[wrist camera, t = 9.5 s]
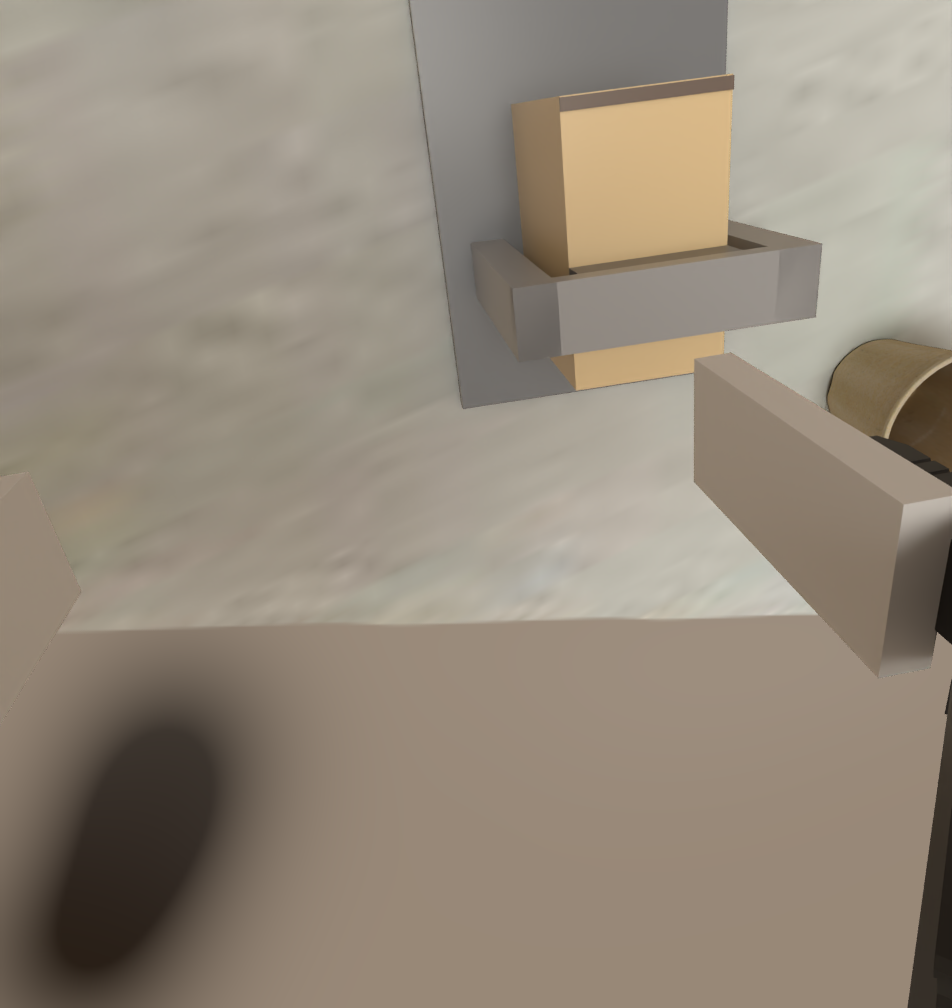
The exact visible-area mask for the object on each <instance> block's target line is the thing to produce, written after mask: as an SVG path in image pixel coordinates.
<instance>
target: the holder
mask: <svg viewBox="0 0 952 1008" xmlns="http://www.w3.org/2000/svg"><path fill="white" fill-rule="evenodd" d="M409 7H410V15H411V22H412V30H413V38H414V45H415V53H416V61H417V68H418V76H419V83H420V91H421V99H422V106H423V114H424V122H425V129H426V137H427V144H428V152H429V160H430V167H431V175H432V183H433V190H434V198H435V205H436V213H437V221H438V228H439V236H440V244H441V251H442V259H443V266H444V274H445V282H446V289H447V297H448V305H449V312H450V320H451V327H452V335H453V343H454V350H455V358H456V366H457V373H458V381H459V388H460V396H461V404H462V407H463V409H466V408H473V407H479V406H486V405H492V404H499V403H505V402H512V401H518V400H525V399H531V398H537V397H544V396H550V395H557V394H563V393H570V392H576V391H583V390H589V389H596V388H602V387H609V386H615V385H621V384H628V383H634V382H641V381H647V380H654V379H660V378H667V377H673V376H680V375H686V374H693V373H694V359H696V358H702V357H708V356H714V355H720V354H724V331H729V330H735V329H742V328H748V327H755V326H762V325H768V324H775V323H781V322H788V321H795V320H801V319H808V318H814V317H816V309H817V298H818V287H819V275H820V264H821V253H822V243H818V242H814V241H810V240H806V239H802V238H798V237H794V236H790V235H786V234H782V233H778V232H774V231H770V230H766V229H762V228H758V227H754V226H750V225H746V224H742V223H738V222H734V221H730V220H728V208H729V178H730V149H731V119H732V90H733V89H734V75H733V74H726V49H727V16H728V0H409Z"/></svg>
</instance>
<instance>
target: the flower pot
mask: <svg viewBox="0 0 952 1008" xmlns="http://www.w3.org/2000/svg"><path fill="white" fill-rule="evenodd" d="M827 401H828V406H829V410H830V413H831V414H832V415H834V416H836V417H837V418H839V419H841V420H842V421H844V422H846V423H847V424H849V425H851V426H852V427H854V428H855V429H857V430H859V431H860V432H862V433H864V434H865V435H867V436H869V437H870V436H876V435H877V436H880V437H883V438H887V439H890V440H894V441H897V442H900V443H904V444H907V445H909V446H911V447H913V448H914V449H916V450H918V451H919V452H921V453H923V454H925V455H926V456H928V457H930V459H931V461H937V462H938V463H940V464H942V465H944V466H945V467H947V468H949V471H950V472H952V350H946V349H940V348H934V347H928V346H922V345H917V344H911V343H906V342H902V341H898V340H893V339H883V340H875V341H871V342H868V343H866V344H863V345H861V346H860V347H858V348H856V349H855V350H853V351H852V352H851V353H850V354H848V355H847V356H846V357H845V358H844V359H843V361H842V362H841V363H840V364H839V365H838V367H837V368H836V370H835V372H834V374H833V380H832V384H831V387H830V391H829V393H828V396H827Z"/></svg>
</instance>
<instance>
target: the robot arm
mask: <svg viewBox="0 0 952 1008" xmlns="http://www.w3.org/2000/svg"><path fill="white" fill-rule="evenodd" d="M694 482H695V483H696V484H697V485H698V486H699V488H700V489H701V490H702V491H703V492H704V493H705V494H706V495H707V496H708V497H709V498H710V499H711V500H712V501H713V502H714V504H715V505H716V506H717V507H718V508H719V509H720V510H721V511H722V512H723V513H724V514H725V515H726V516H727V517H728V518H729V520H730V521H731V522H732V523H733V524H734V525H735V526H736V527H737V528H738V529H739V530H740V531H741V532H742V533H743V534H744V536H745V537H746V538H747V539H748V540H749V541H750V542H751V543H752V544H753V545H754V546H755V547H756V548H757V549H758V550H759V552H760V553H761V554H762V555H763V556H764V557H765V558H766V559H767V560H768V561H769V562H770V563H771V564H772V565H773V566H774V568H775V569H776V570H777V571H778V572H779V573H780V574H781V575H782V576H783V577H784V578H785V579H786V580H787V581H788V583H789V584H790V585H791V586H792V587H793V588H794V589H795V590H796V591H797V592H798V593H799V594H800V595H801V596H802V597H803V599H804V600H805V601H806V602H807V603H808V604H809V605H810V606H811V607H812V608H813V609H814V610H815V611H816V612H817V613H818V615H819V616H820V617H821V618H822V619H823V620H824V621H825V622H826V623H827V624H828V625H829V626H830V627H831V628H832V629H833V631H834V632H835V633H836V634H837V635H838V636H839V637H840V638H841V639H842V640H843V641H844V642H845V643H846V644H847V645H848V647H850V649H851V650H852V651H853V652H854V653H855V654H856V655H857V656H858V657H859V658H860V659H861V660H862V661H863V662H864V664H865V665H866V666H867V667H868V668H869V669H870V670H871V671H872V672H873V673H874V674H875V675H876V676H877V677H878V678H883V677H888V676H893V675H898V674H903V673H908V672H914V671H918V670H924V669H928V668H930V667H931V661H932V656H933V651H934V646H935V640H936V635H937V632H938V633H939V634H940V635H941V636H943V637H944V638H945V639H946V640H947V641H949V643H951V644H952V472H950V471H949V468H947V467H945V466H944V465H942V464H940V463H938V462H937V461H931V459H930V457H928V456H926V455H925V454H923V453H921V452H919V451H918V450H916V449H914V448H913V447H911V446H909V445H907V444H904V443H900V442H897V441H894V440H890V439H887V438H883V437H880V436H877V435H876V436H870V437H869V436H867V435H865V434H864V433H862V432H860V431H859V430H857V429H855V428H854V427H852V426H851V425H849V424H847V423H846V422H844V421H842V420H841V419H839V418H837V417H836V416H834V415H832V414H831V413H829V412H828V411H826V410H824V409H823V408H821V407H819V406H818V405H816V404H814V403H813V402H811V401H810V400H808V399H806V398H805V397H803V396H801V395H800V394H798V393H796V392H795V391H793V390H791V389H790V388H788V387H787V386H785V385H783V384H782V383H780V382H778V381H777V380H775V379H773V378H772V377H770V376H769V375H767V374H765V373H764V372H762V371H760V370H759V369H757V368H755V367H754V366H752V365H751V364H749V363H747V362H746V361H744V360H742V359H741V358H739V357H737V356H736V355H734V354H732V353H726V354H720V355H714V356H708V357H702V358H696V359H694ZM80 593H81V589H80V587H79V585H78V583H77V580H76V578H75V576H74V574H73V571H72V569H71V567H70V564H69V562H68V560H67V558H66V555H65V553H64V551H63V549H62V546H61V544H60V542H59V540H58V537H57V535H56V533H55V531H54V528H53V526H52V524H51V522H50V519H49V517H48V515H47V512H46V510H45V508H44V506H43V503H42V501H41V499H40V497H39V494H38V492H37V490H36V488H35V485H34V483H33V481H32V479H31V476H30V474H29V472H23V473H17V474H11V475H5V476H0V725H1V723H2V722H3V720H4V719H5V717H6V715H7V713H8V712H9V710H10V709H11V707H12V705H13V704H14V702H15V700H16V699H17V697H18V695H19V694H20V692H21V690H22V689H23V687H24V685H25V684H26V682H27V680H28V679H29V677H30V675H31V674H32V672H33V671H34V669H35V667H36V666H37V664H38V662H39V661H40V659H41V657H42V656H43V654H44V652H45V651H46V649H47V648H48V646H49V644H50V642H51V641H52V639H53V638H54V636H55V634H56V633H57V631H58V629H59V628H60V626H61V624H62V623H63V621H64V619H65V618H66V616H67V615H68V613H69V611H70V610H71V608H72V606H73V605H74V603H75V601H76V600H77V598H78V596H79V595H80ZM945 714H947V722H946V729H945V736H944V744H943V751H942V759H941V766H940V773H939V780H938V788H937V795H936V803H935V810H934V818H933V824H932V832H931V839H930V846H929V854H928V861H927V868H926V876H925V883H924V891H923V898H922V905H921V912H920V920H919V927H918V934H917V942H916V949H915V956H914V964H913V971H912V979H911V986H910V993H909V1000H908V1008H952V680H951V685H950V690H949V695H948V701H947V705H946V710H945Z"/></svg>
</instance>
